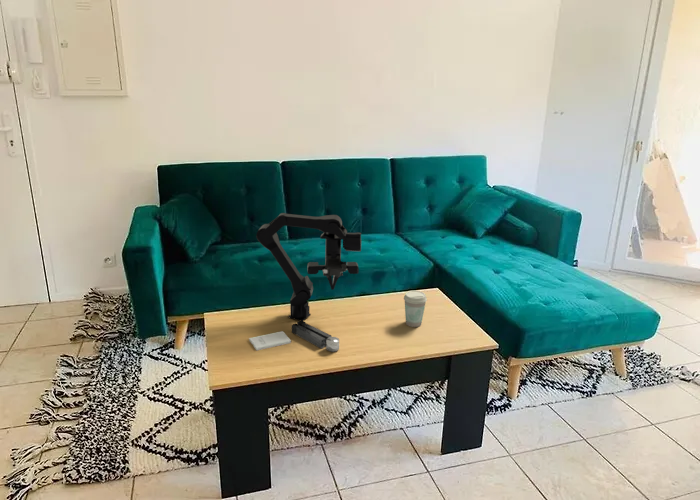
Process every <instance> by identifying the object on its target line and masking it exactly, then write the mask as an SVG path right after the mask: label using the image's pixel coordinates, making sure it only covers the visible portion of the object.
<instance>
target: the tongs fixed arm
mask: <svg viewBox="0 0 700 500" xmlns="http://www.w3.org/2000/svg"><path fill="white" fill-rule="evenodd" d="M291 333H292V334H294V335H295V336H297V337H299V338H301V339H303V340H304V341H306V342H308V343H310V344H312V345H314V346H315V347H317V348H320V349H324V348H326V343H325V338H323V337H321V336H319V335H318V334H316V333H314V332H312V331H310V330H308V329H306V328H304V327H302V326H300V325H298V324H297V322H296V323H293V324H291Z"/></svg>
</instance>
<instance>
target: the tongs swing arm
mask: <svg viewBox="0 0 700 500" xmlns="http://www.w3.org/2000/svg"><path fill="white" fill-rule="evenodd" d="M296 324H298V325H300V326H302V327H304V328H306V329H308V330H310V331H312V332H314V333H316V334H318V335H319V336H321V337H323V338H325V350H326V351H328V352H337V351H338V350H340V338H338V337H337V336H332V335H331V334H329V333H327V332H325V331H323V330H321V329H318V328H317V327H315V326H313V325H310V324H308V323H307V322H306V321H305V320H303V321H302V320H297V322H296Z"/></svg>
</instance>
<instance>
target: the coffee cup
mask: <svg viewBox="0 0 700 500" xmlns="http://www.w3.org/2000/svg"><path fill="white" fill-rule="evenodd" d="M403 301H404V311H405V315H404V316H405V317H404V318H405V324H406V326H408V327H411V328H418V327H420V326H421V325H422V323H423V322H422V321H423V318H424V313H425V312H424V311H425V307H426V302H427V301H428V299H427V296H426V294H425V292H423V291H420V290H409V291H406V293H405V294H404V297H403Z"/></svg>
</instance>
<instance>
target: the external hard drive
mask: <svg viewBox="0 0 700 500" xmlns="http://www.w3.org/2000/svg"><path fill="white" fill-rule="evenodd" d="M248 341H249V343H251V345H252V346H253V348H254V350H256V351H261V350H265V349H270V348H274V347H278V346H283V345H289V344H291V343H292V340H291V339H290V337H288V335H287V334H286V333H285V332H284V331H283V330H281V331H277V332H273V333H268V334H263V335H258V336H254V337H248Z"/></svg>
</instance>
